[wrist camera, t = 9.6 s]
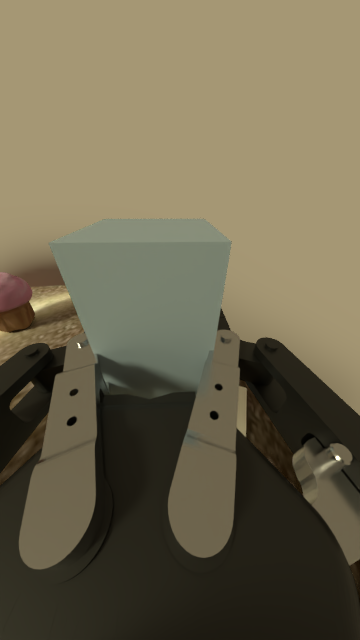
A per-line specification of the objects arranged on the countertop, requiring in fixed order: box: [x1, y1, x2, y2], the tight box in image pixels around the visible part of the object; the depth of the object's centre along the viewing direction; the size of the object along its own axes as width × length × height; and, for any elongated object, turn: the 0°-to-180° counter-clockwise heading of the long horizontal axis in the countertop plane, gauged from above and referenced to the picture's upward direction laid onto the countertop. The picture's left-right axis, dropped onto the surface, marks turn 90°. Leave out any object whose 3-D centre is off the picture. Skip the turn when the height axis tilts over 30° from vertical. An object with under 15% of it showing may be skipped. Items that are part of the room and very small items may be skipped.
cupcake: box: [0, 272, 35, 332], centre depth 31 cm, size 9×9×10 cm
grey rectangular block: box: [49, 219, 231, 399], centre depth 10 cm, size 5×5×12 cm
